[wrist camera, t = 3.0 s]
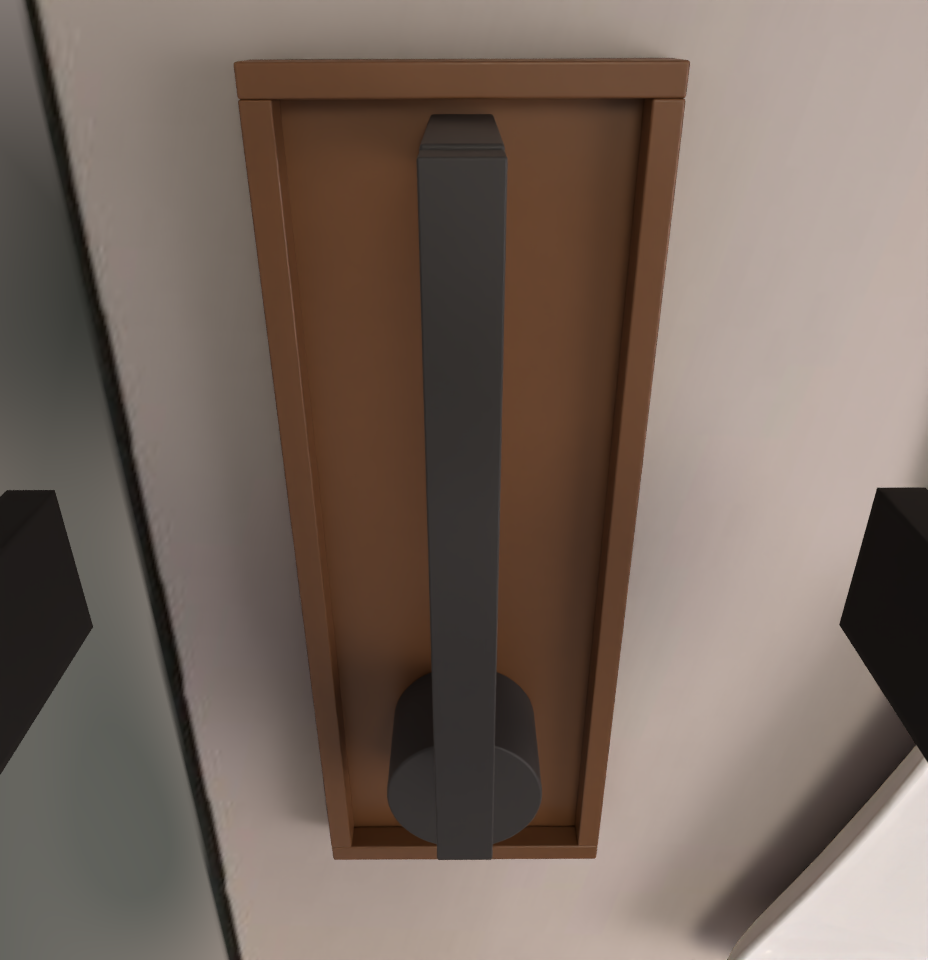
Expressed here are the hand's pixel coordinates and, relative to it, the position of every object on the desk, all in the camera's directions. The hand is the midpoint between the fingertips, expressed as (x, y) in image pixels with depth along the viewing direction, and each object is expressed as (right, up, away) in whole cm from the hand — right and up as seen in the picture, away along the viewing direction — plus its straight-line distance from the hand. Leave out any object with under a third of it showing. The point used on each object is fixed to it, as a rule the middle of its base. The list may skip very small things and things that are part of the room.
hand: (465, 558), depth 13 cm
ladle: (0, 0, +13) cm, 13 cm away
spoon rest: (0, -1, +14) cm, 14 cm away
